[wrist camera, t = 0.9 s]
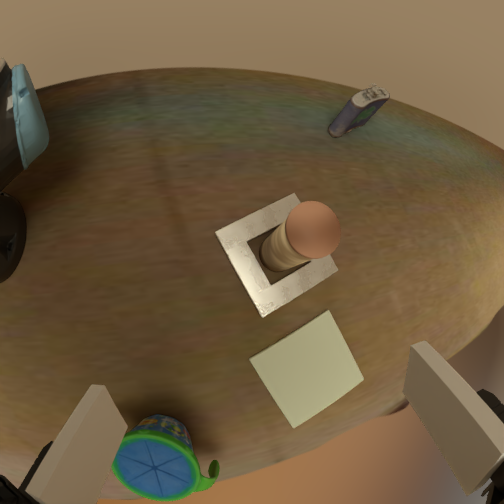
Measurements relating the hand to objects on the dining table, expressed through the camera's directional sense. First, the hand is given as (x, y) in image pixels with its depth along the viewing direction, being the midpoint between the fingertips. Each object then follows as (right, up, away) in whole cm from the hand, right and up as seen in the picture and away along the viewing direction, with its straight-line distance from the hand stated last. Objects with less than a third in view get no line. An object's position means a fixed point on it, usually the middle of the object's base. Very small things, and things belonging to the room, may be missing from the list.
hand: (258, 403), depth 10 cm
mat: (+8, -11, +27) cm, 30 cm away
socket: (+3, +6, +29) cm, 30 cm away
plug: (+3, +6, +29) cm, 30 cm away
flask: (+17, +29, +36) cm, 49 cm away
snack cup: (-13, -20, +22) cm, 32 cm away
